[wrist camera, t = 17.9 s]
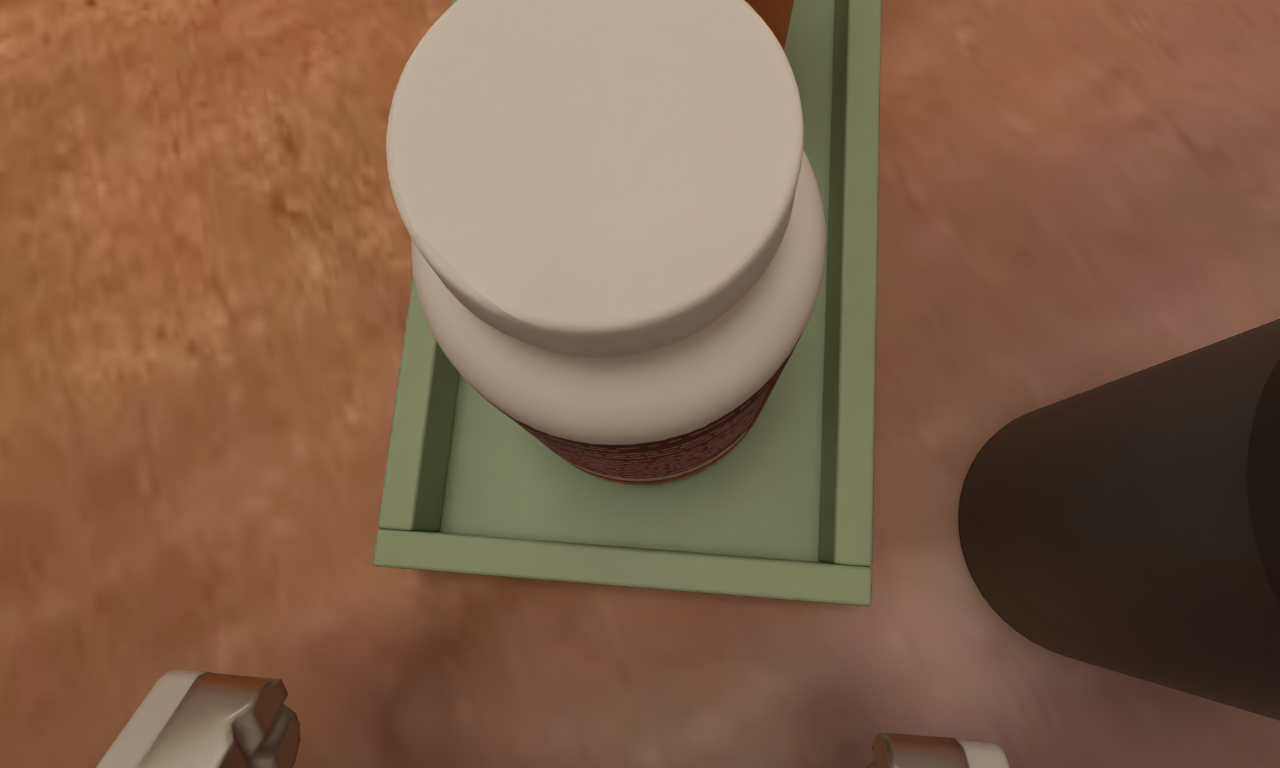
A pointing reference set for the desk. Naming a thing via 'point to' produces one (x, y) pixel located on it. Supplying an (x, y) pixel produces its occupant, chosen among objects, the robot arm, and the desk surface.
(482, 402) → the tray
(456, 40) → the pill bottle
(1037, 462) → the grey canister
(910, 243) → the desk surface
